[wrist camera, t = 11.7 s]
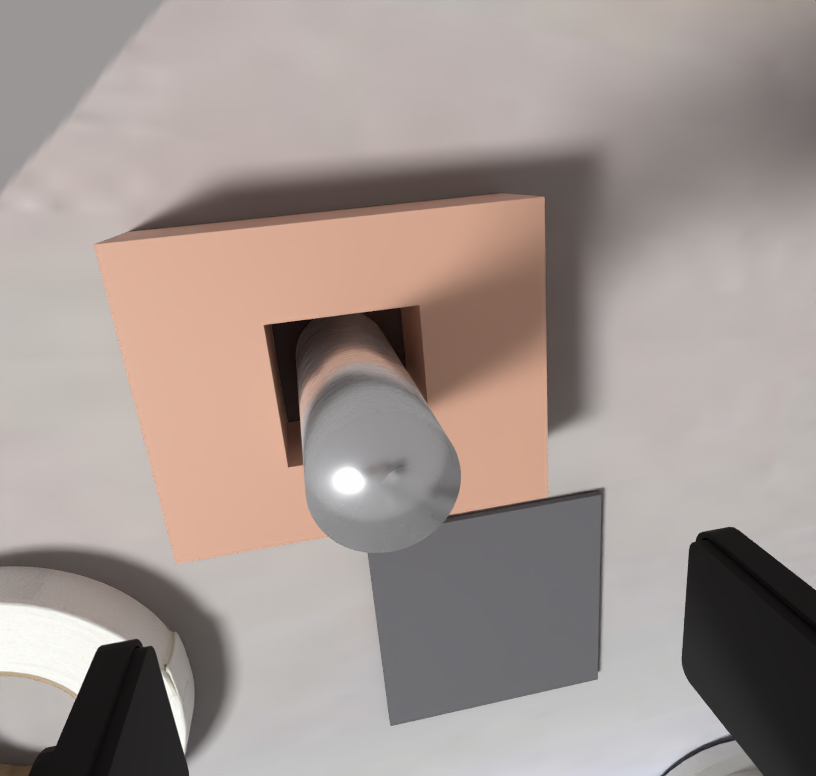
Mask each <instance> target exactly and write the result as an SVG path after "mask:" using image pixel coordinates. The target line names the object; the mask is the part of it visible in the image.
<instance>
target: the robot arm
mask: <svg viewBox="0 0 816 776" xmlns="http://www.w3.org/2000/svg"><path fill="white" fill-rule="evenodd" d="M682 666H683V670H684V673H685V675H686V677H687V679H688V681H689V682H690V684H691V685H692V686H693V687H694V689H695V690H696V691H697V693H698V694H699V695H700V696H701V698H702V699H703V700H704V701H705V703H706V704H707V705H708V706H709V708H710V709H711V710H712V711H713V713H714V714H715V715H716V716H717V718H718V719H719V720H720V722H721V723H722V724H723V725H724V727H725V728H726V729H727V730H728V732H729V733H730V734H731V735H732V737H733V738H734V739H735V740H734V741H730V742H726V743H722V744H718V745H715V746H713V747H710V748H708V749H705V750H703V751H700V752H699V753H697V754H695V755H693V756H691V757H690V758H688V759H686V760H684V761H683V762H682V763H680V764H679V765H678V766H676V767H675V768H673V769H672V770H671V771H669V772H668V773H667V774H666V775H665V776H816V590H815V589H813V588H812V587H811V586H809V585H808V584H807V583H806V582H804V581H803V580H802V579H801V578H799V577H798V576H797V575H795V574H794V573H793V572H792V571H790V570H789V569H788V568H786V567H785V566H784V565H783V564H781V563H780V562H779V561H777V560H776V559H775V558H774V557H772V556H771V555H770V554H768V553H767V552H766V551H765V550H763V549H762V548H761V547H759V546H758V545H757V544H756V543H754V542H753V541H752V540H750V539H749V538H748V537H747V536H745V535H744V534H743V533H742V532H740V531H739V530H737V529H736V528H734V527H726V528H721V529H716V530H710V531H705V532H701V533H699V534H698V536H697V538H696V542H693V543H692V544H691V545H690V548H689V559H688V574H687V588H686V603H685V618H684V633H683V648H682ZM28 776H189V771H188V766H187V763H186V759H185V755H184V752H183V748H182V745H181V741H180V737H179V734H178V730H177V727H176V723H175V720H174V716H173V712H172V709H171V705H170V702H169V698H168V695H167V691H166V687H165V684H164V680H163V677H162V673H161V670H160V666H159V662H158V659H157V655H156V652H155V649H154V648H153V646H146V647H143V645H142V643H141V641H140V640H139V639H132V640H127V641H122V642H116V643H111V644H106V645H101V646H100V647H98V649H97V651H96V652H95V655H94V657H93V659H92V662H91V664H90V667H89V669H88V671H87V674H86V676H85V678H84V681H83V683H82V686H81V688H80V690H79V693H78V695H77V697H76V700H75V702H74V705H73V707H72V709H71V712H70V714H69V716H68V719H67V721H66V724H65V726H64V728H63V731H62V733H61V735H60V738H59V740H58V743H57V745H56V746H53V747H48V748H45V749H44V750H43V751H42V752H41V753H40V754H39V755H38V757H37V759H36V760H35V762H34V764H33V766H32V768H31V770H30V773H29V775H28Z"/></svg>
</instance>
